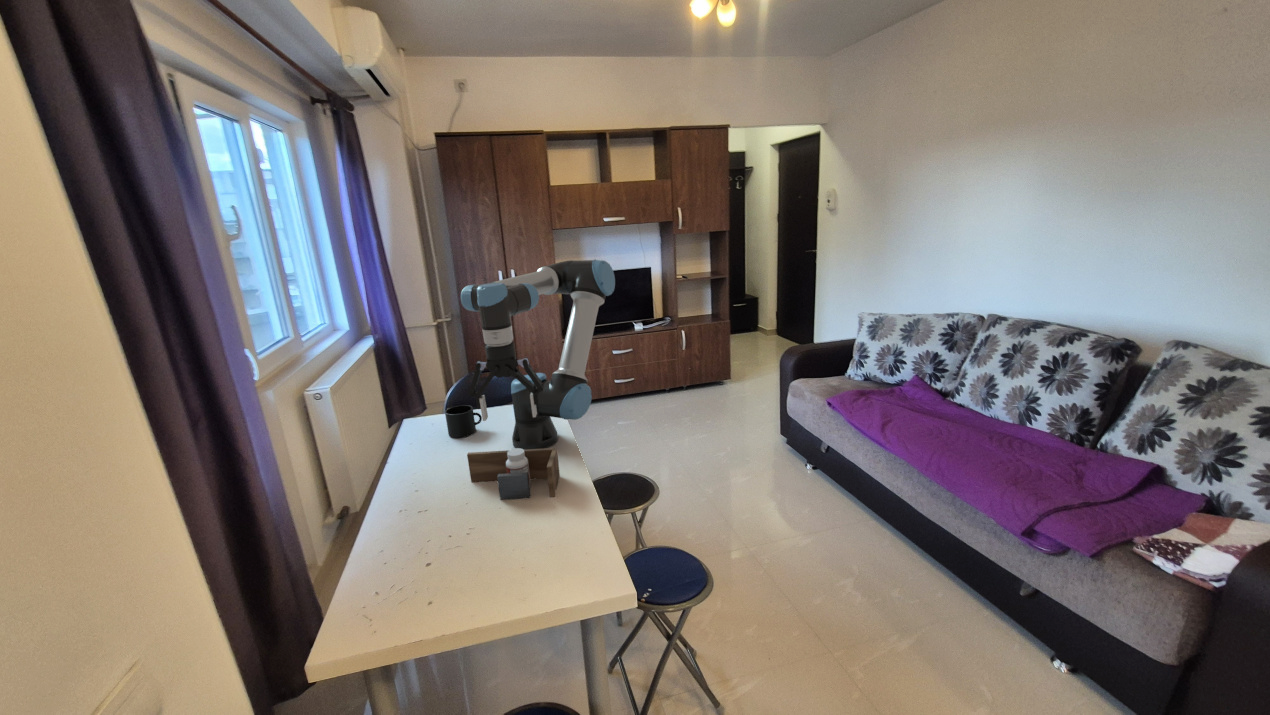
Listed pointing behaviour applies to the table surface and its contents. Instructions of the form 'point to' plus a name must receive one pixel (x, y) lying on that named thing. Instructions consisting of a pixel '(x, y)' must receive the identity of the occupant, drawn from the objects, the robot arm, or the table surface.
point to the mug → (461, 421)
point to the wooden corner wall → (494, 463)
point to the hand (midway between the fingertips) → (510, 417)
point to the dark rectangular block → (514, 486)
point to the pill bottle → (517, 462)
